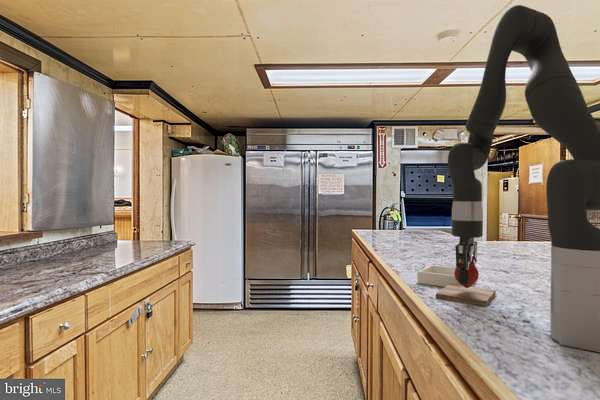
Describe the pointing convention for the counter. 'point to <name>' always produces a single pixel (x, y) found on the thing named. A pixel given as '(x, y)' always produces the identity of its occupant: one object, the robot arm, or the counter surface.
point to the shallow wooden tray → (437, 276)
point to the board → (466, 294)
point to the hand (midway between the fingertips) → (466, 281)
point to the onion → (472, 274)
